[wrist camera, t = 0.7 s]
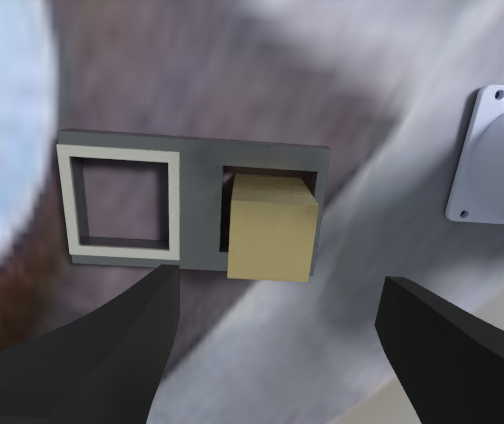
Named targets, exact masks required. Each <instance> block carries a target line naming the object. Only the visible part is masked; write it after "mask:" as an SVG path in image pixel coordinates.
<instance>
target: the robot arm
mask: <svg viewBox="0 0 504 424" xmlns="http://www.w3.org/2000/svg"><path fill="white" fill-rule="evenodd" d="M497 91H499V97H498V98H497V99H496V98H495V94H496V92H497ZM462 211H465V213H464V215H462V216H460V214H461V212H462ZM445 215H446V217H447V218H448V219H450V220H451V221H459V222H476V223H492V224H504V85H485V86H483V87H482V88H481V89H480V90H479V92H478V95H477V99H476V102H475V106H474V110H473V113H472V117H471V121H470V124H469V128H468V131H467V135H466V139H465V142H464V146H463V150H462V153H461V157H460V161H459V164H458V168H457V172H456V175H455V179H454V182H453V186H452V190H451V193H450V197H449V201H448V204H447V208H446V212H445ZM179 316H180V265H167V264H161V265H160V266H158V267H157V268H156V269H154V270H153V271H152V272H150V273H149V274H148V275H147V276H145V277H144V278H143V279H141V280H140V281H138V282H137V283H136V284H134V285H133V286H132V287H130V288H129V289H128V290H126V291H125V292H123V293H121V294H120V295H118V296H117V297H115V298H114V299H112V300H111V301H109V302H108V303H106V304H105V305H103V306H101V307H100V308H98V309H96V310H94V311H93V312H91V313H89V314H87V315H85V316H83V317H81V318H79V319H78V320H76V321H74V322H72V323H69V324H67V325H65V326H63V327H60V328H58V329H56V330H54V331H51V332H49V333H47V334H44V335H42V336H40V337H38V338H35V339H32V340H30V341H27V342H24V343H22V344H19V345H16V346H13V347H11V348H8V349H5V350H2V351H0V424H146V421H147V418H148V414H149V411H150V408H151V405H152V402H153V399H154V396H155V393H156V391H157V388H158V385H159V382H160V379H161V377H162V374H163V371H164V368H165V366H166V363H167V360H168V357H169V354H170V352H171V349H172V346H173V343H174V339H175V335H176V330H177V326H178V321H179ZM375 327H376V330H377V333H378V336H379V339H380V342H381V345H382V347H383V350H384V352H385V354H386V356H387V358H388V360H389V362H390V364H391V366H392V368H393V370H394V372H395V373H396V375H397V377H398V379H399V381H400V383H401V385H402V386H403V388H404V390H405V392H406V394H407V396H408V398H409V400H410V402H411V403H412V405H413V407H414V409H415V411H416V413H417V415H418V417H419V419H420V421H421V423H422V424H504V331H503V330H501V329H499V328H497V327H495V326H493V325H491V324H489V323H487V322H485V321H483V320H481V319H479V318H477V317H475V316H474V315H472V314H470V313H468V312H466V311H464V310H463V309H461V308H459V307H457V306H455V305H454V304H452V303H450V302H448V301H447V300H445V299H443V298H441V297H440V296H438V295H436V294H434V293H433V292H431V291H429V290H427V289H425V288H424V287H422V286H420V285H418V284H416V283H414V282H412V281H410V280H408V279H406V278H404V277H389V276H386V278H385V282H384V286H383V291H382V295H381V300H380V304H379V308H378V313H377V317H376V321H375Z"/></svg>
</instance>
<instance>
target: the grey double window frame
mask: <svg viewBox="0 0 504 424" xmlns="http://www.w3.org/2000/svg"><path fill="white" fill-rule="evenodd" d="M57 136H58V144H56V145H57V153H58V162H59V170H60V178H61V186H62V194H63V203H64V211H65V219H66V227H67V236H68V244H69V252H70V254H72V262H73V263H81V264H100V265H119V266H138V267H158V266H160V265H161V264H167V265H180V269H195V270H214V271H228V255H229V244H221V223H222V199H223V176H224V166H239V167H254V168H270V169H285V170H300V171H313V176H312V184H311V192H310V193H311V194H312V196H313V197H314V199H315V200H316V202H317V203H318V205H319V210H318V217H317V224H316V231H315V238H314V245H313V252H312V259H311V266H310V273H309V276H313V272H314V265H315V258H316V252H317V245H318V238H319V231H320V224H321V218H322V211H323V204H324V197H325V190H326V184H327V177H328V170H329V163H330V156H331V149H330V148H328V147H327V146H314V145H300V144H285V143H271V142H256V141H241V140H227V139H212V138H197V137H183V136H168V135H153V134H139V133H124V132H109V131H95V130H80V129H64V130H58V131H57ZM81 157H90V158H105V159H120V160H136V161H151V162H166V163H168V175H169V241H160V240H142V239H124V238H106V237H89V230H88V220H87V209H86V199H85V189H84V179H83V169H82V158H81Z"/></svg>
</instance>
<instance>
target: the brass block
mask: <svg viewBox="0 0 504 424" xmlns="http://www.w3.org/2000/svg"><path fill="white" fill-rule="evenodd" d="M318 210H319V205H318V203H317V202H316V200H315V199H314V197H313V196H312V194H311V193H310V191H309V190H308V188H307V187H306V185H305V184H304V182H303V180H302V179H301V178H297V177H281V176H266V175H250V174H235V179H234V185H233V192H232V199H231V216H230V236H229V255H228V275H227V278H237V279H256V280H275V281H294V282H308V280H309V273H310V266H311V259H312V252H313V245H314V238H315V231H316V224H317V217H318Z"/></svg>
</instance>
